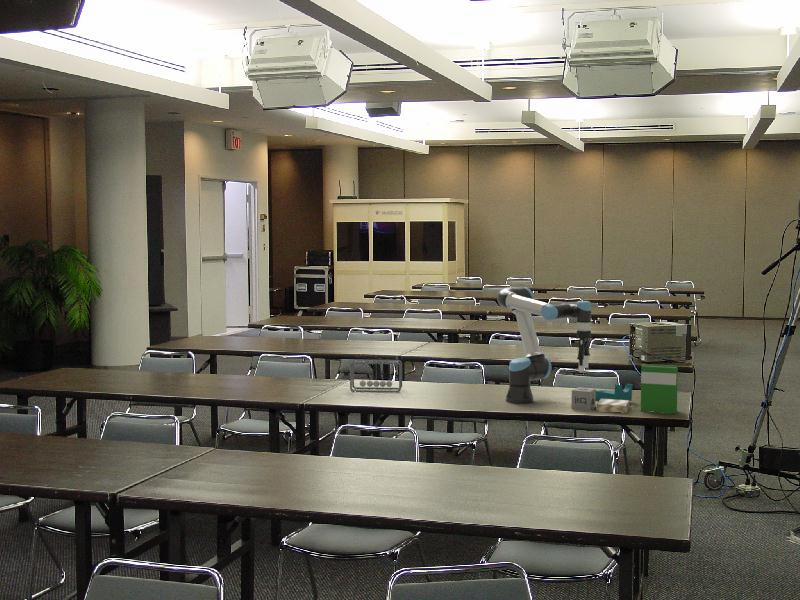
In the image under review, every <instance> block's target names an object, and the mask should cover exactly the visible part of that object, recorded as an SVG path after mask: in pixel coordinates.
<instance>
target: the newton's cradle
mask: <svg viewBox="0 0 800 600" xmlns="http://www.w3.org/2000/svg"><path fill="white" fill-rule="evenodd" d="M355 365H362V371H364V365H375V380H374V381H372V380H371V379H369V380H367V382H366V380H364V379H361V381H359V385H360V386H357V387H356V386H355ZM377 365H388V373H390V368H391V367H390V365H398V383H399V384H398V387H392V386H393V381H392V380H390V379H388V380H387V381H385V380H384V367H381V370H382V371H381V372H382V373H381V375H382V377H381V378H382V380H381V381H379V380H377V371H378V370H377V367H378V366H377ZM368 367H369V369H368V370H369V377H371V366H368ZM365 386H367V387H365ZM379 386H380V387H379ZM386 386H387V387H386ZM354 388H355V389H354ZM402 388H403V362H402V361H401V360H400V359H353V360H352V362H350V365H349V389H350V391H351V392H352V391H356V392H355V393H400V392H401V390H402ZM397 389H399V390H397ZM359 391H360V392H359Z"/></svg>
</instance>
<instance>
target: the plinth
mask: <svg viewBox="0 0 800 600" xmlns="http://www.w3.org/2000/svg"><path fill="white" fill-rule="evenodd" d="M630 402H631V401H629V400H614V399H600V401H597V402H596V407H595V408H596V409H595V410H596V412H599V413H613V412H623V413H622V414H626V413H627V412H628V411H629V409H630V405H631V404H630ZM627 410H628V411H627ZM626 411H627V412H626Z"/></svg>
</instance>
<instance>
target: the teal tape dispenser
mask: <svg viewBox="0 0 800 600" xmlns="http://www.w3.org/2000/svg"><path fill="white" fill-rule="evenodd" d="M633 385H634V384H632V383H625V386H624V388H623V385H622V384H617V383H616V384H615V383H614V390H610V389H609V390H608V389H596V401H597V402H599V401H600V399H614V400H629V401H630V402H632V399H633Z"/></svg>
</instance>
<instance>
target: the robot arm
mask: <svg viewBox="0 0 800 600" xmlns="http://www.w3.org/2000/svg"><path fill="white" fill-rule="evenodd" d="M534 297H535V296H534V292H533V291H532V290H531V289H530V288H529V287H526V286H512V287H504V288H502V289H500V290H499V292H498V293H497V297H496V298H497V303H498V305H499V306H500V307H502V308H504V309H508V310H511V313H512V314H514V315H515V317H516V321H517V325H518V326H517V327H518V331H519V333H520V334H519V335H520V338H521V341H522V344H523V349H524V353H525V356H523V357H516V358H514V359H513V358H512V359H511V360H509V366H508V370H509V371H508V373H509V374H508V377H509V378H508V381H509V382H508V384H509V385H508V386H509V387H508V390H507V393H506V396H505V401H506V402H508V403H511V404H529V403H533V402H534V394H533V391H532V389H531V381H536V380H543V379H546V378H548V377H549V376H550V374H551V372H552V367H553V366H552V362H551V361H550V359H548V358H547V357H546V356H545V353H544V352H542V351H541V347H540V344H539V339H538V335H537V331H536V329H535V328H536V327H535V325H534V324H535V323H534V320H533V317H532V315H537V316H540V317H543V318H544V319H545V320H548V321H553V320H560V319H576V338H577V339H580V340H578V343H579V344H578V350H577V351H578V353H577V354H578V355H577V357H576V360H578V372H580V373H582V372H583V373H584V372H585V369H589V356H591V353H590V347H589V346H590V345H589V339H591V337H592V330H591V329H592V326H593V324H592V303H591V301H589V300H578V301H577V302H576V304H575V303H567V302H566V303H564V302H563V303H561V304H551V303H548V302H544V301H540V300H537V299H535V298H534Z"/></svg>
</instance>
